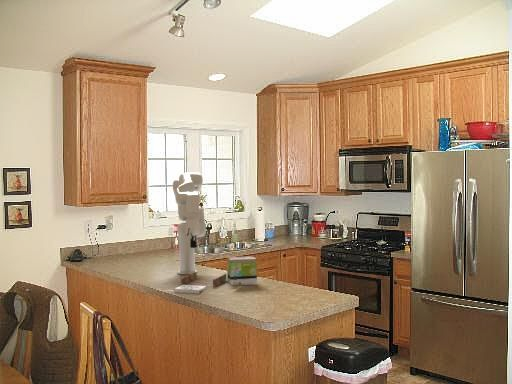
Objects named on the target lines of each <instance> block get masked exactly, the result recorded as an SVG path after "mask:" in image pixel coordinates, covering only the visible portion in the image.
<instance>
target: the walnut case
mask: <svg viewBox="0 0 512 384" xmlns="http://www.w3.org/2000/svg"><path fill="white" fill-rule="evenodd" d="M180 280H181V285H180V286H182V285H197V286H207V288H217V287H218V286H220V285H222V284H224V283H226V282H227V273H223V274H220V275H219V276H217V277H215V278H213V279H197V273H196V272H194V273H191V274H186V275H185V276H181V279H180Z"/></svg>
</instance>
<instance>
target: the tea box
mask: <svg viewBox="0 0 512 384" xmlns="http://www.w3.org/2000/svg"><path fill="white" fill-rule="evenodd" d="M226 261H227V262H226V263H227V265H226V266H227V267H226V268H227V270H226V274H227V281H226V282H227V283H228V284H229V285H231V286H234V285H235V286H237V285H241V286H247V285H251V286H252V285H255V286H256V285H257V284H258V259H257V258H256V257H254V256H234V257H233V256H232V257H227V259H226Z"/></svg>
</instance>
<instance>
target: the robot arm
mask: <svg viewBox="0 0 512 384" xmlns="http://www.w3.org/2000/svg"><path fill="white" fill-rule="evenodd" d="M202 186H203V175H202V174H201V173H200V172H183V173H181V174H180V175H179V177H178V178H177V179H175V180H174V181H173V182H172V190H173V193H174V197H175V202H176V204H177V213H178V219H179V220H180V223H179V224H178V225H177V229H176V231H177V236H178V249H179V253H178V254H179V255H178V256H179V270H177V274H179V275H189V274H191V273H194V272H196V274H197V273H198V270H197V269H196V268H197V266H198V265H197V264H196V262H195V261H196V256H195V255H196V254H195V250H196V248H197V242H198V241H197V240H198V238H202V237H204V236H205V235H206V231H207V230H206V222H205V219H206V218H205V211H204V209H203V207H202V206H200V203H201V200H202V198H201V197H202V196H201V194H200V193H199V192H200V190H201V189H202ZM181 221H182V222H181Z"/></svg>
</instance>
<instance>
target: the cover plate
mask: <svg viewBox="0 0 512 384" xmlns="http://www.w3.org/2000/svg"><path fill="white" fill-rule="evenodd" d="M207 288H208V287H207V286H197V285H179V286H177V287H175V288H174V293H176V294H177V293H179V294H193V293H194V295H195V294H196V295H199V294H202V293H203V292H204V290H207Z"/></svg>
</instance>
